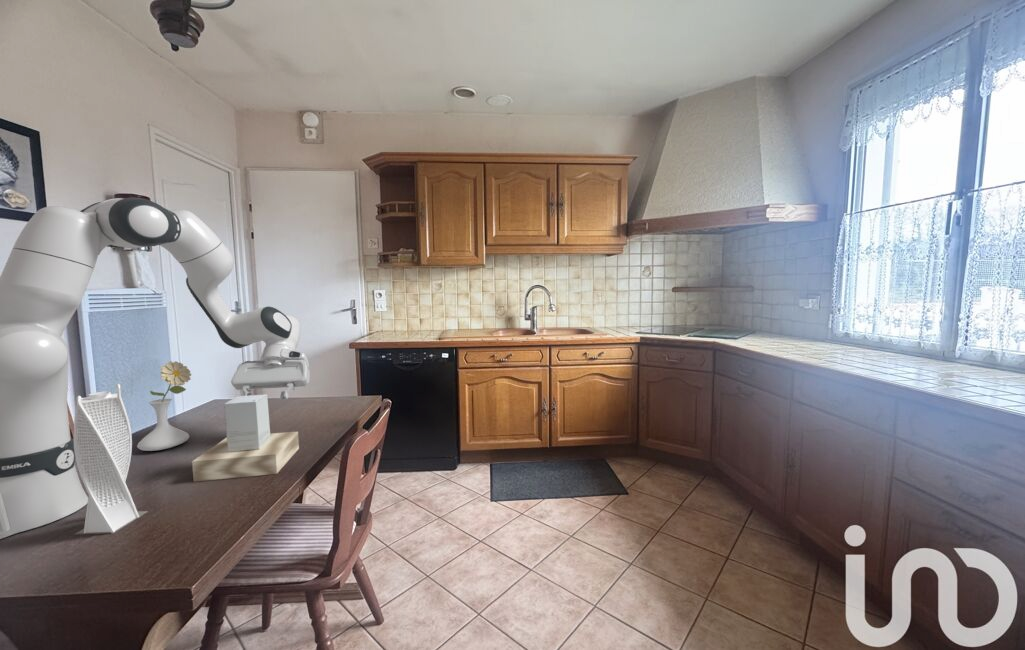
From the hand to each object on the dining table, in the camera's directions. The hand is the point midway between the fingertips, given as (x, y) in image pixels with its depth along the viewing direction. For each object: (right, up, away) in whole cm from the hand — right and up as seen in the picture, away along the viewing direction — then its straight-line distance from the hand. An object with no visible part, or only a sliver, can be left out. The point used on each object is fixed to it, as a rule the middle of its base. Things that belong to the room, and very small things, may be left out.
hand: (265, 399), depth 110 cm
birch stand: (+2, -15, -10) cm, 18 cm away
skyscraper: (-6, -18, -36) cm, 41 cm away
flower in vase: (-31, -15, +3) cm, 34 cm away
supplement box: (+3, -10, -10) cm, 15 cm away
